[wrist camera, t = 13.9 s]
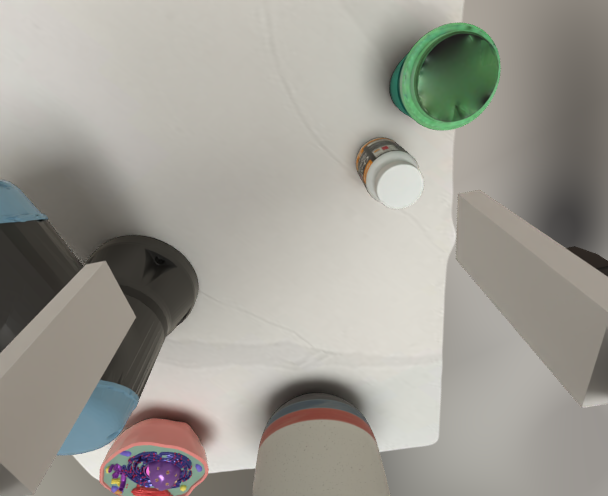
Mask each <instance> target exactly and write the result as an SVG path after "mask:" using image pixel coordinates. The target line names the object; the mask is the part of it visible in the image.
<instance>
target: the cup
mask: <svg viewBox="0 0 608 496" xmlns="http://www.w3.org/2000/svg"><path fill="white" fill-rule="evenodd" d="M499 78H500V58H499V54H498V50H497V48H496V46H495V44H494V42H493V40H492V39H491V38H490V36H489V35H488V34H487V33H486V32H484V31H483V30H482V29H480V28H478V27H476V26H474V25H471V24H467V23H450V24H446V25H443V26H440V27H438V28H435V29H433V30H432V31H430V32H428V33H427V34H426V35H424V36H423V37H422V38H421V39H420V40H419V41H418V42H417V43H416V44H415V45H414V46H413V48H412V49H411V50H410V52H409V53H408V54H407V55H406V56H405V57H404V58H403V59H402V61H401V62H400V63H399V64H398V66H397V67H396V69H395V71H394V73H393V75H392V77H391V81H390V95H391V98H392V101H393V103H394V104H395V105H396V106H397V107H398V108H399V110H400V111H402V112H403V113H404V114H406V115H408V116H409V117H411V118H413V119H414V120H415V121H416V122H417V123H419V124H420V125H422V126H424V127H427V128H430V129H433V130H451V129H456V128H459V127H462V126H464V125H466V124H468V123H469V122H471V121H472V120H474V119H475V118H477V117H478V116H479V115H480V114H481V113H482V112H483V111H484V110H485V109H486V107H487V106H488V104H489V103H490V102H491V100H492V98H493V96H494V94H495V92H496V89H497V86H498V83H499Z"/></svg>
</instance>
